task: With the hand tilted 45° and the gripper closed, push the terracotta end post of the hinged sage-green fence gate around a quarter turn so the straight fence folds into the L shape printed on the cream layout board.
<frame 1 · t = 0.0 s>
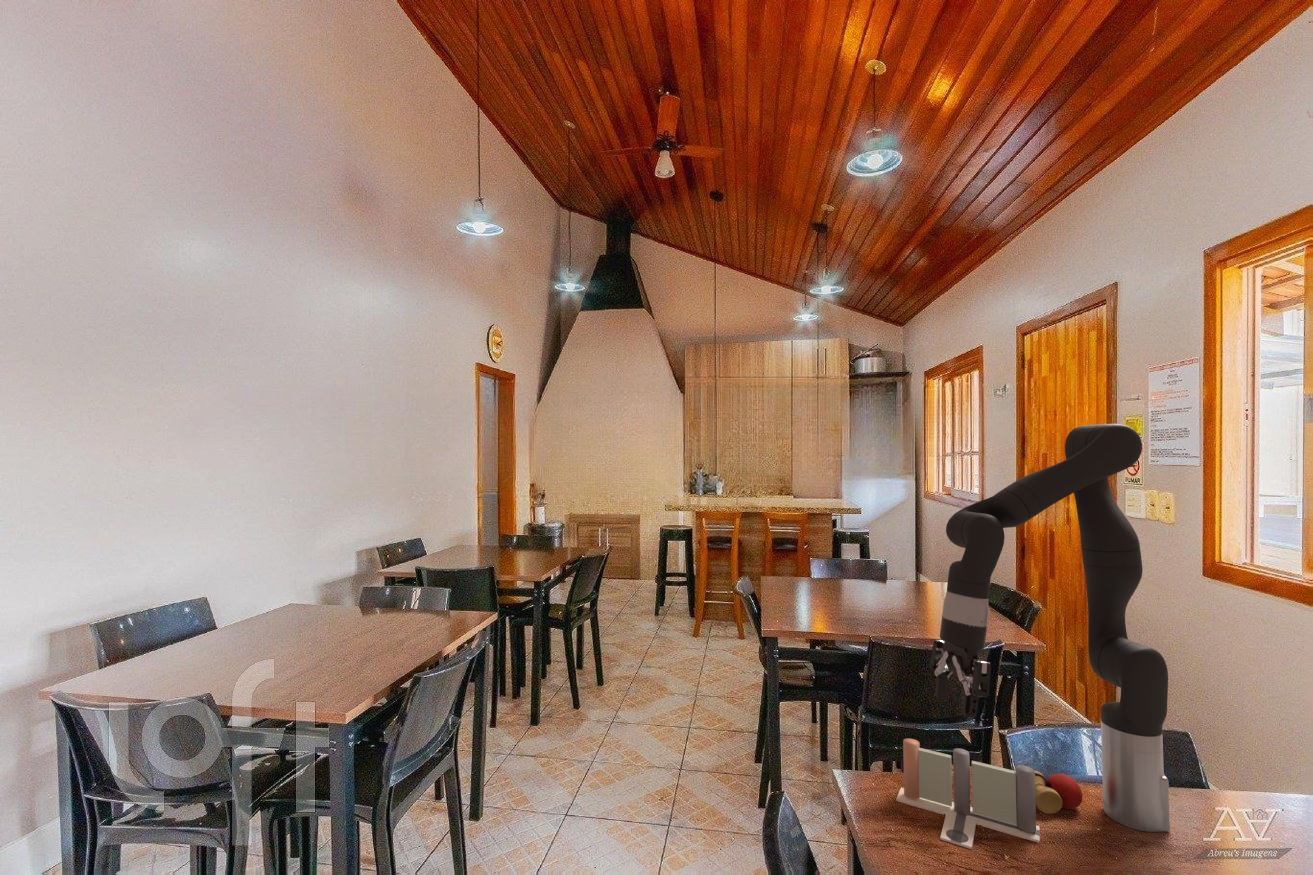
hand: (954, 706, 109), 22 cm above the table, tool pointing down, fingers open, 8 cm apart
gate: (927, 772, 117), point 6 cm above the table, hinge at 0.0°
fence fixed: (993, 789, 111), on the layout board
layout board: (962, 813, 114), on the table
kendama: (1031, 805, 117), on the table
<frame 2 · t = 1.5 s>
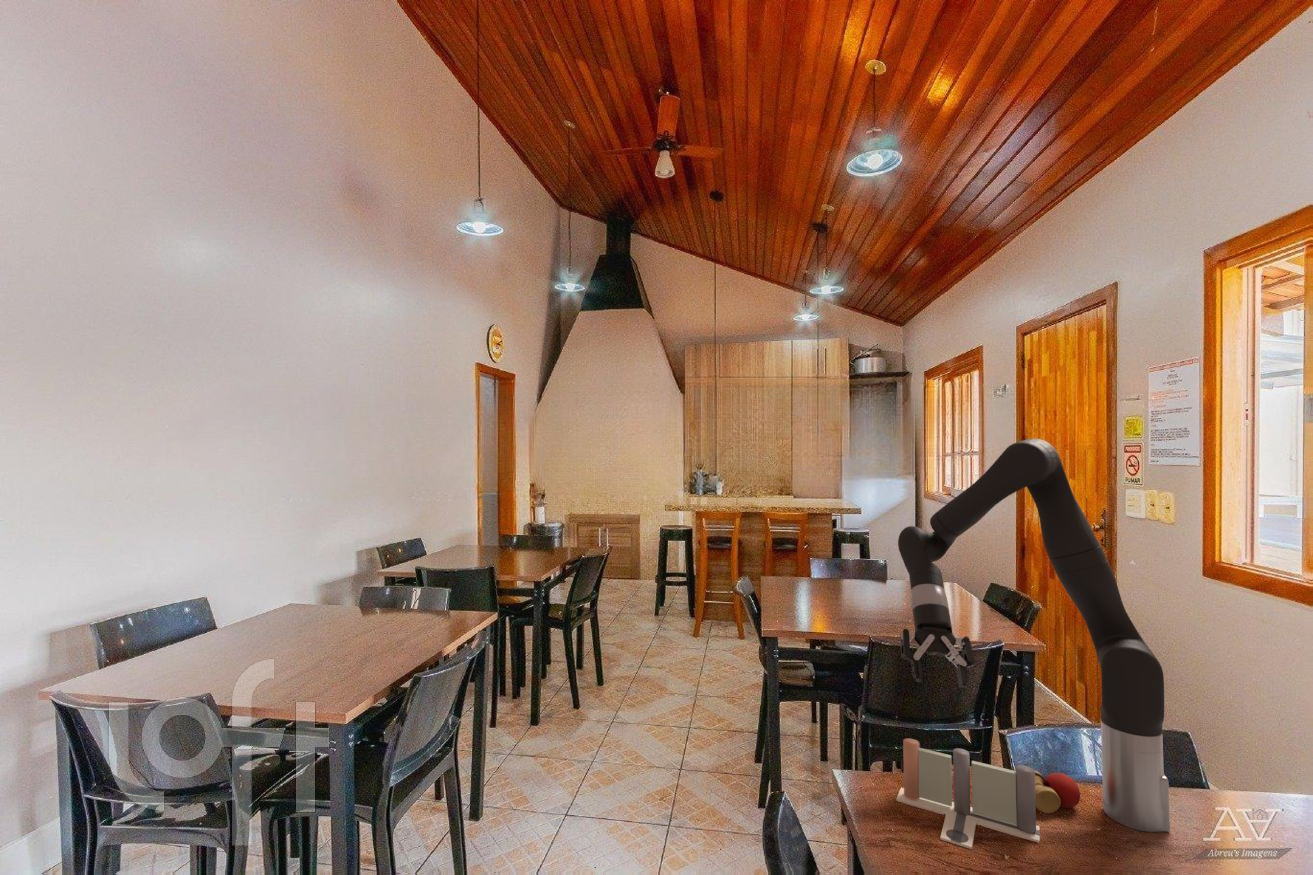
hand: (941, 683, 122), 22 cm above the table, tool tilted 35°, fingers open, 8 cm apart
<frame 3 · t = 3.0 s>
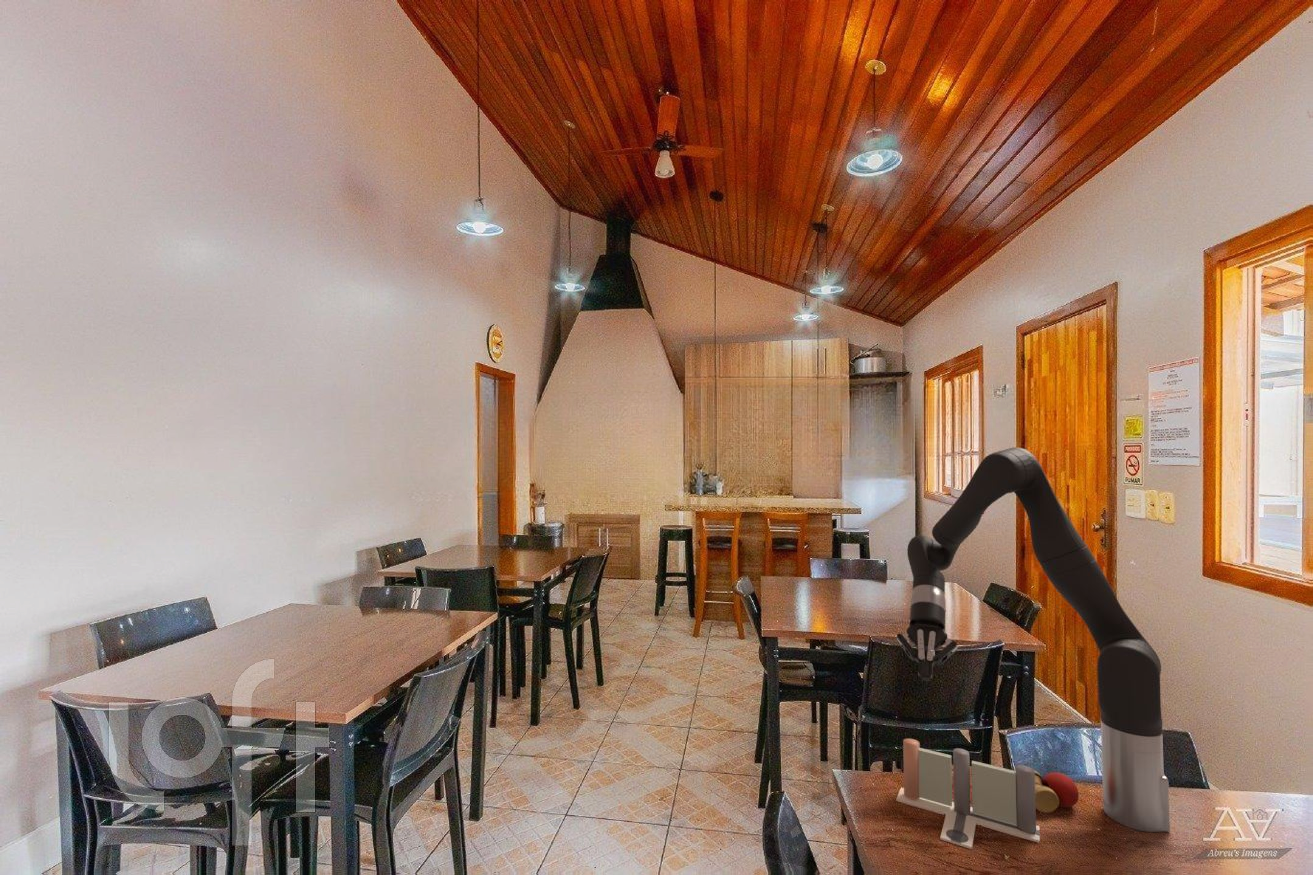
hand: (925, 678, 128), 21 cm above the table, tool tilted 45°, fingers closed
nothing on the table moved.
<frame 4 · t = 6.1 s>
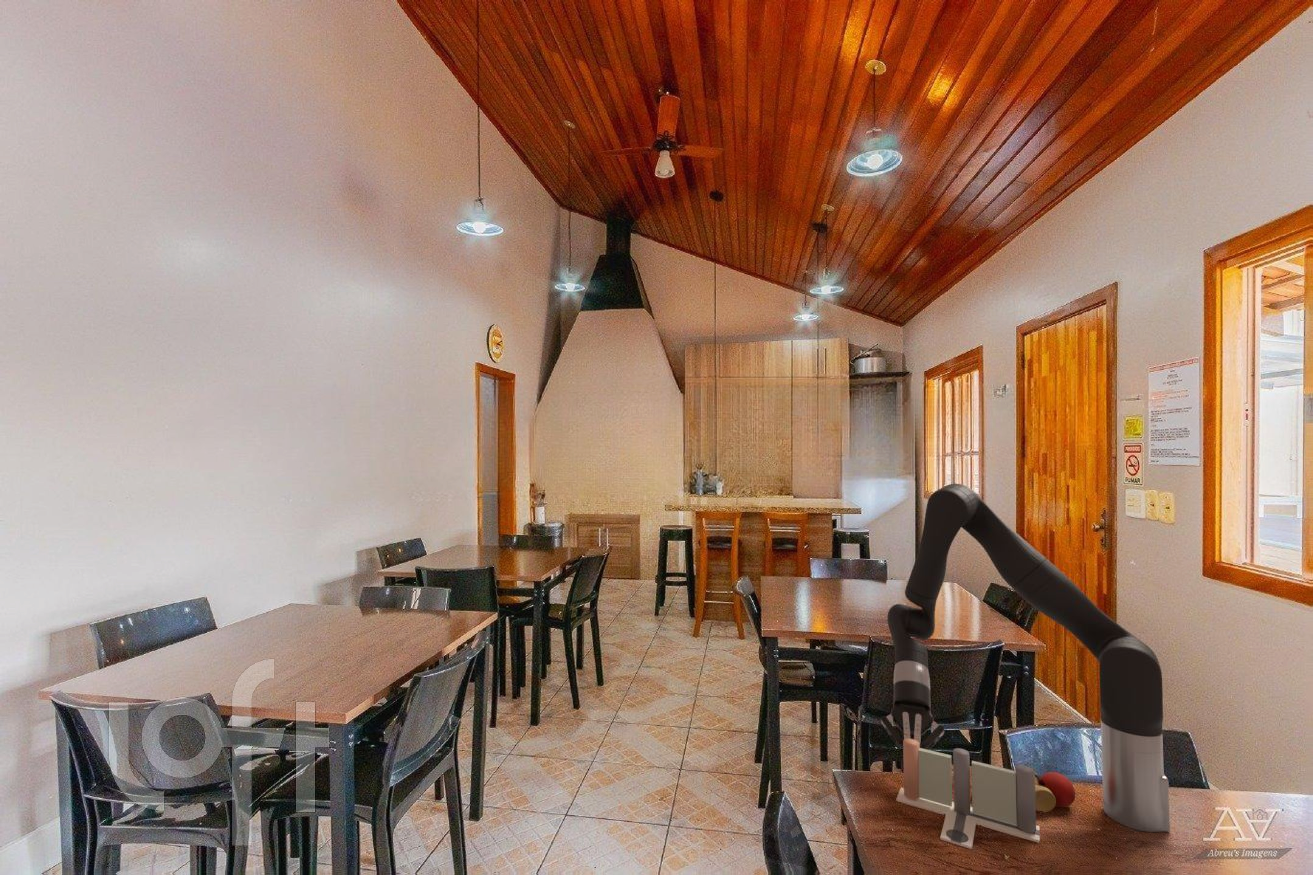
hand: (912, 768, 121), 5 cm above the table, tool tilted 45°, fingers closed
gate: (927, 772, 117), point 6 cm above the table, hinge at 0.4°, touching gripper
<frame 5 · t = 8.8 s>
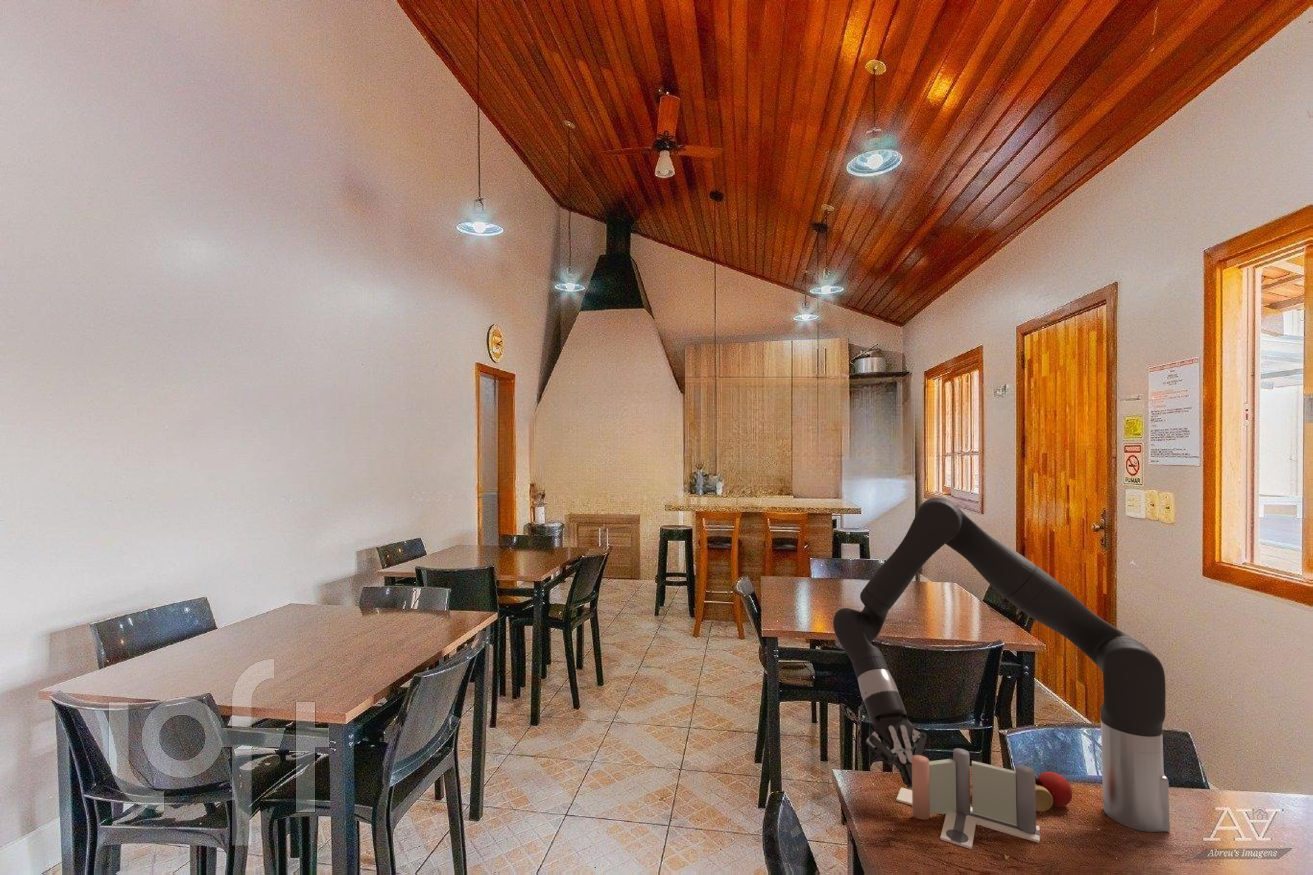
hand: (913, 786, 114), 5 cm above the table, tool tilted 45°, fingers closed
gate: (933, 784, 113), point 6 cm above the table, hinge at 45.0°, touching gripper
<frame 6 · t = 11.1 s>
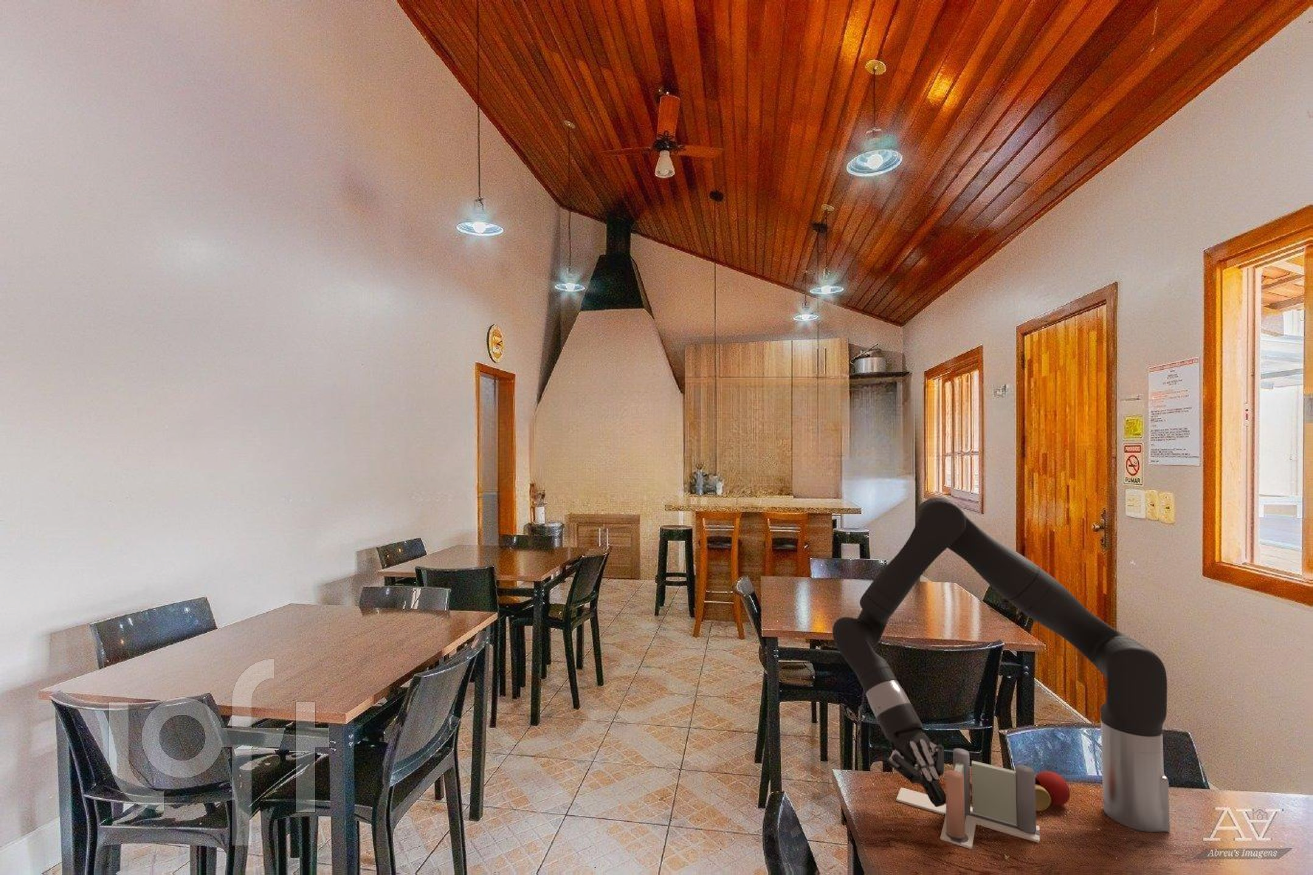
hand: (941, 804, 108), 5 cm above the table, tool tilted 45°, fingers closed
gate: (957, 796, 109), point 6 cm above the table, hinge at 88.5°, touching gripper
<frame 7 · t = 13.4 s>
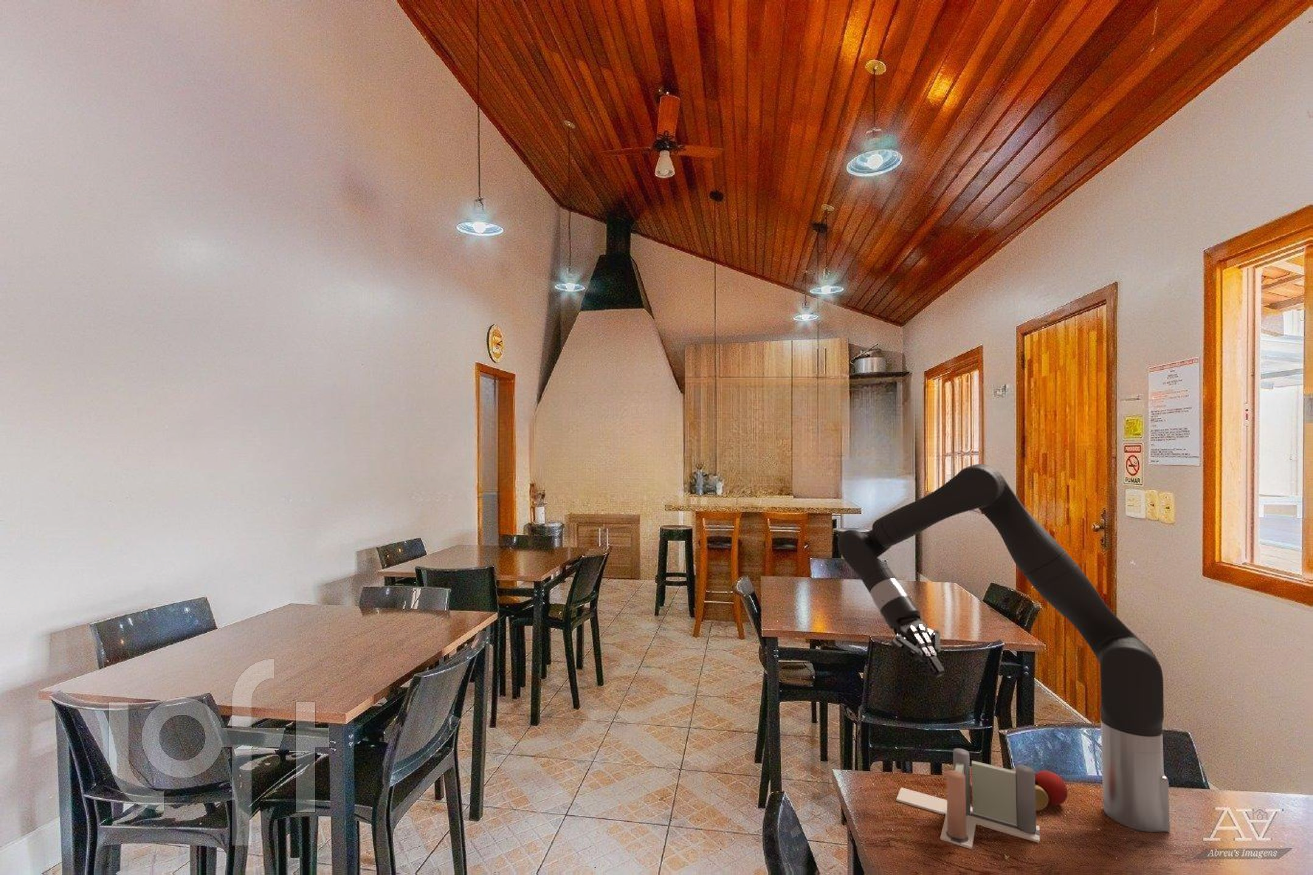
hand: (940, 675, 124), 23 cm above the table, tool tilted 45°, fingers closed
gate: (958, 796, 109), point 6 cm above the table, hinge at 89.7°
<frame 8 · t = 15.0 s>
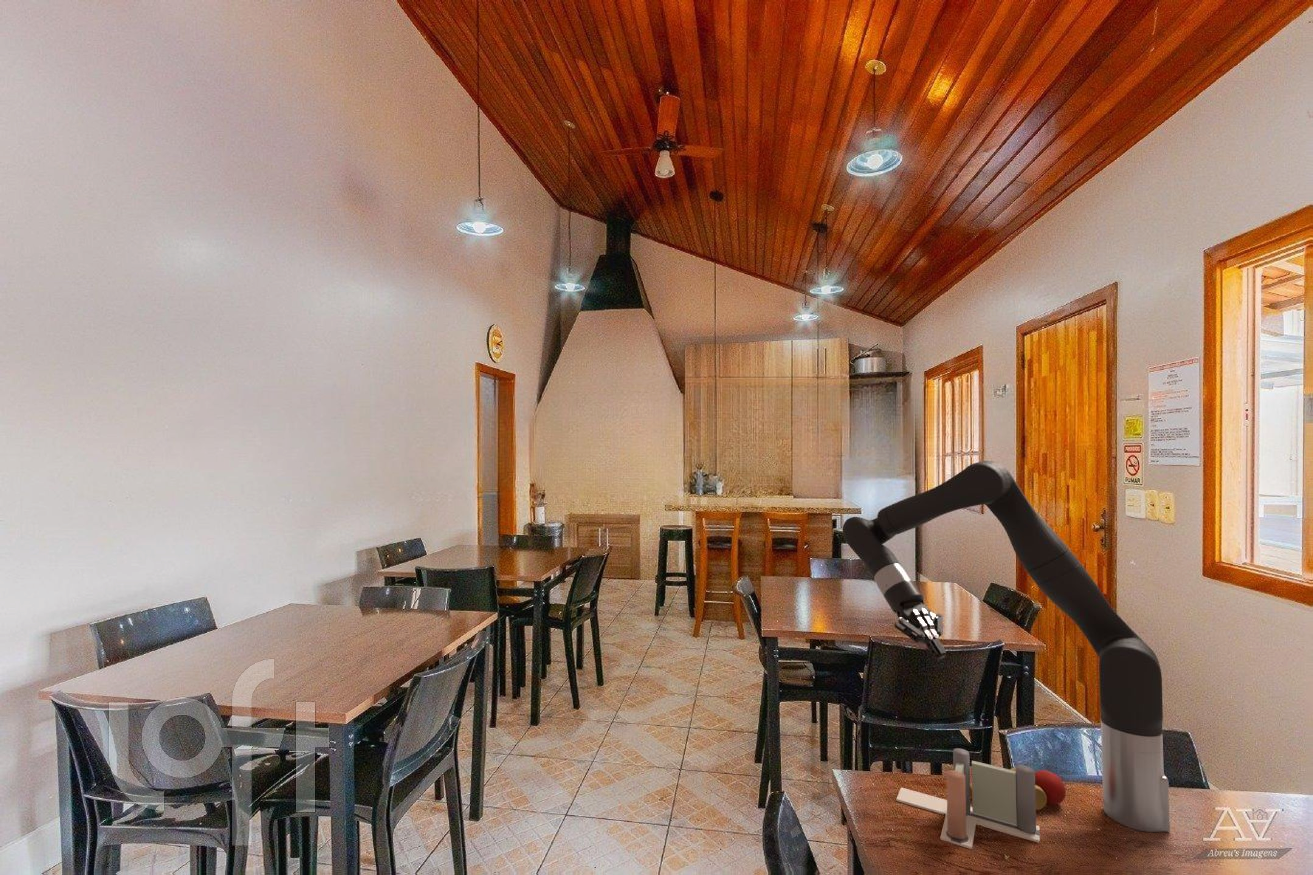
hand: (942, 657, 126), 26 cm above the table, tool tilted 45°, fingers closed
at the end: gate at +90° (first picture: +0°) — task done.
